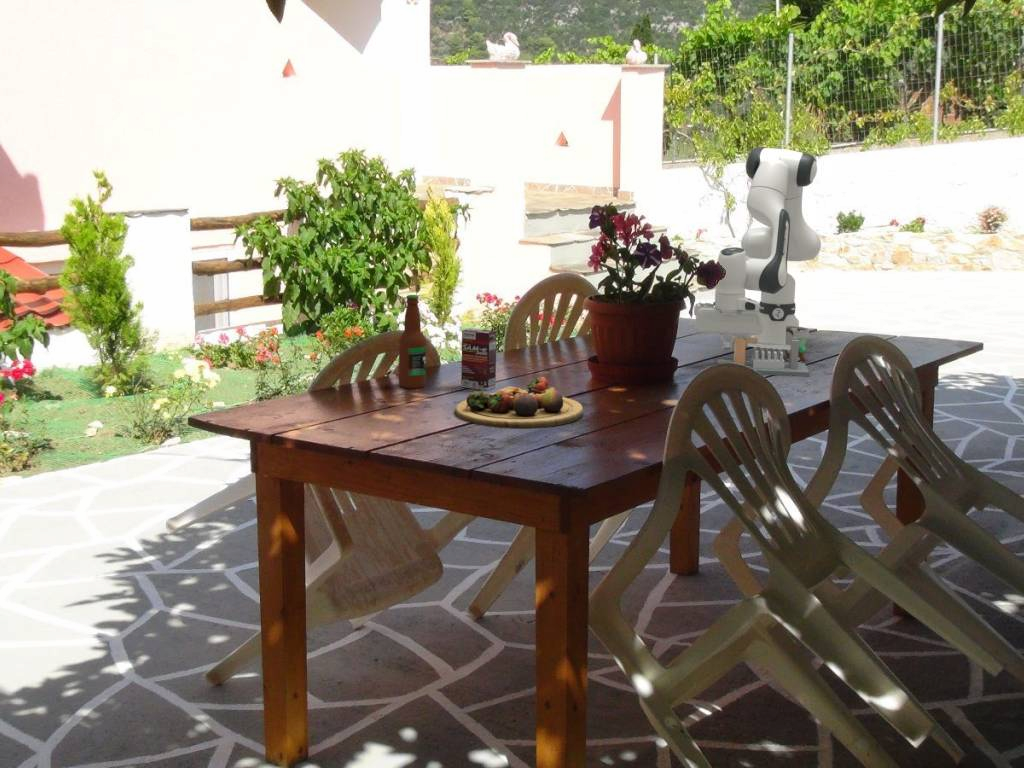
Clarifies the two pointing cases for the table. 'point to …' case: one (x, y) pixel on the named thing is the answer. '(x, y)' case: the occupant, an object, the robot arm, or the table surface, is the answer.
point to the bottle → (412, 348)
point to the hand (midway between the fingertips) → (727, 348)
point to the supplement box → (478, 359)
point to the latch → (742, 348)
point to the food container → (802, 337)
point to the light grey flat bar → (770, 345)
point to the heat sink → (776, 362)
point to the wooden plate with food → (520, 407)
